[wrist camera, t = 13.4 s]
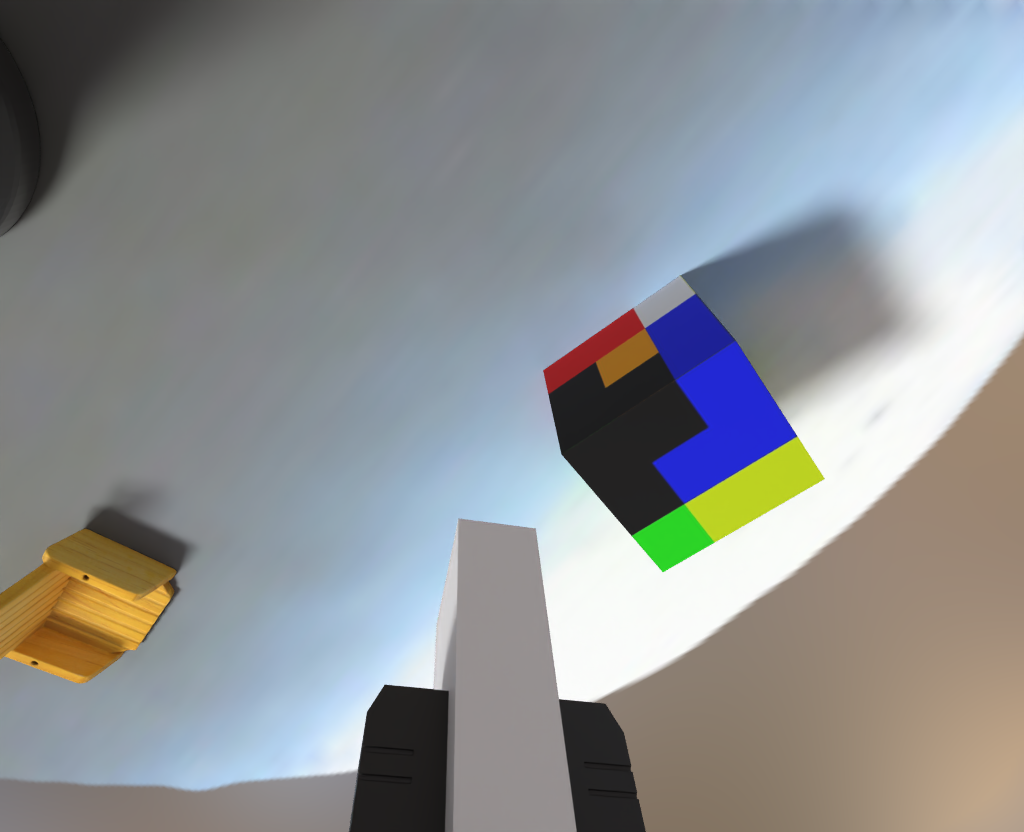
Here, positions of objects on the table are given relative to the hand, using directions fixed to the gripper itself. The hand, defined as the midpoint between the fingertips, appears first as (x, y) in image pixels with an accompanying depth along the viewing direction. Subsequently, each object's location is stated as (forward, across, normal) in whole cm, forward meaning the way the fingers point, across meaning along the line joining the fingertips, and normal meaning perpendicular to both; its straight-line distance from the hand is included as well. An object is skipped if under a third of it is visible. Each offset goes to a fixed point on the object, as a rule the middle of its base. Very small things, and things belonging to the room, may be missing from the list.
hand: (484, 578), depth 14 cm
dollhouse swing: (+30, -22, -31) cm, 49 cm away
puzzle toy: (+30, +13, -8) cm, 33 cm away
